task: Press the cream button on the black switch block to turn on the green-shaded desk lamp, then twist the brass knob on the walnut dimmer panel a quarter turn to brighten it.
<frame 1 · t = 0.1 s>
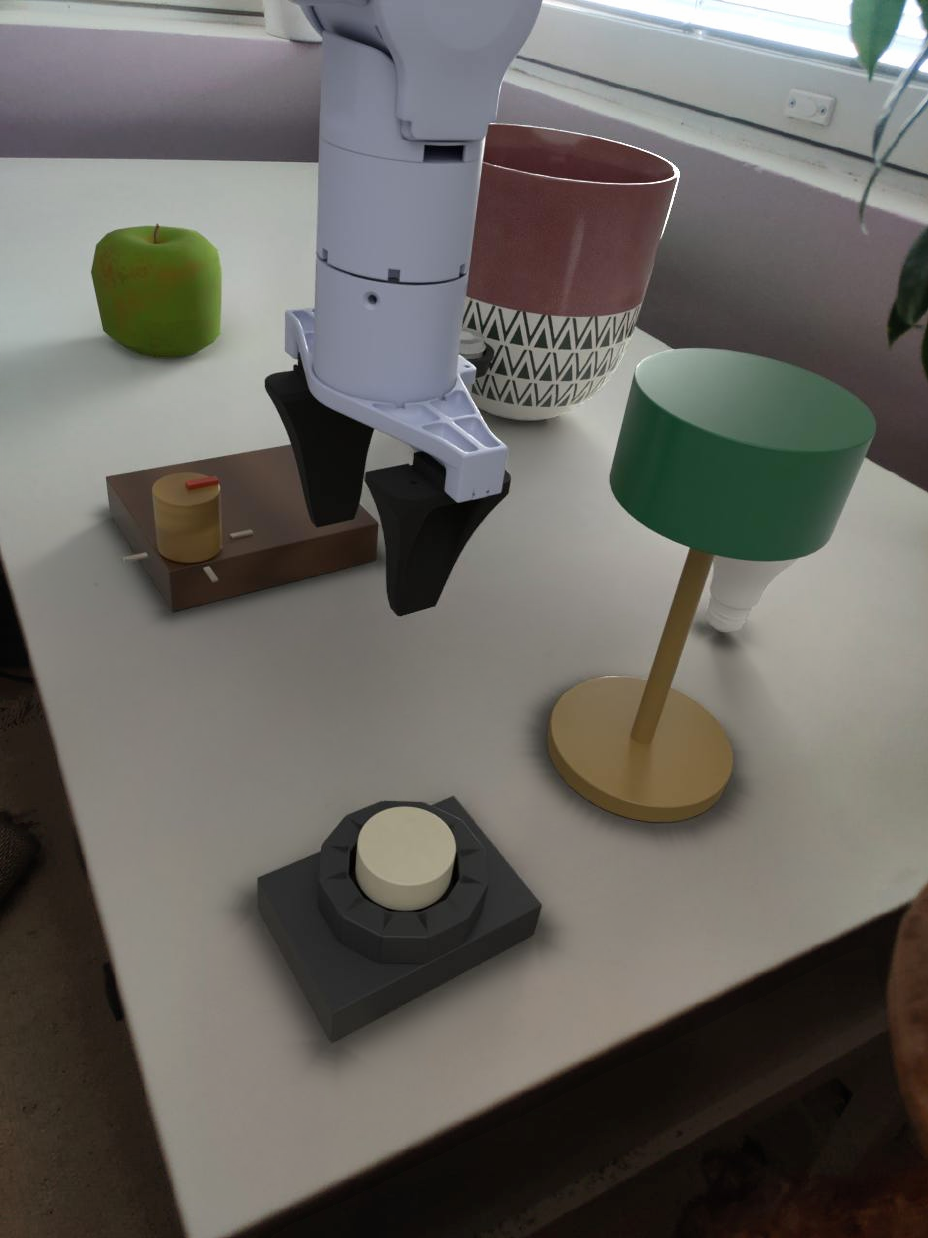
hand: (370, 561, 43), 11 cm above the table, tool pointing down, fingers open, 7 cm apart
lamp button: (405, 857, 38), point 4 cm above the table, slide at 0.1 cm
dimmer panel: (242, 537, 63), on the table
dimmer knob: (188, 515, 55), point 5 cm above the table, hinge at 0.0°
lightbulb: (720, 631, 62), on the table
planter: (513, 408, 86), on the table
push button: (442, 452, 77), on the table
apple: (164, 346, 87), on the table
desk lamp: (636, 751, 51), on the table
switch block: (396, 922, 41), on the table
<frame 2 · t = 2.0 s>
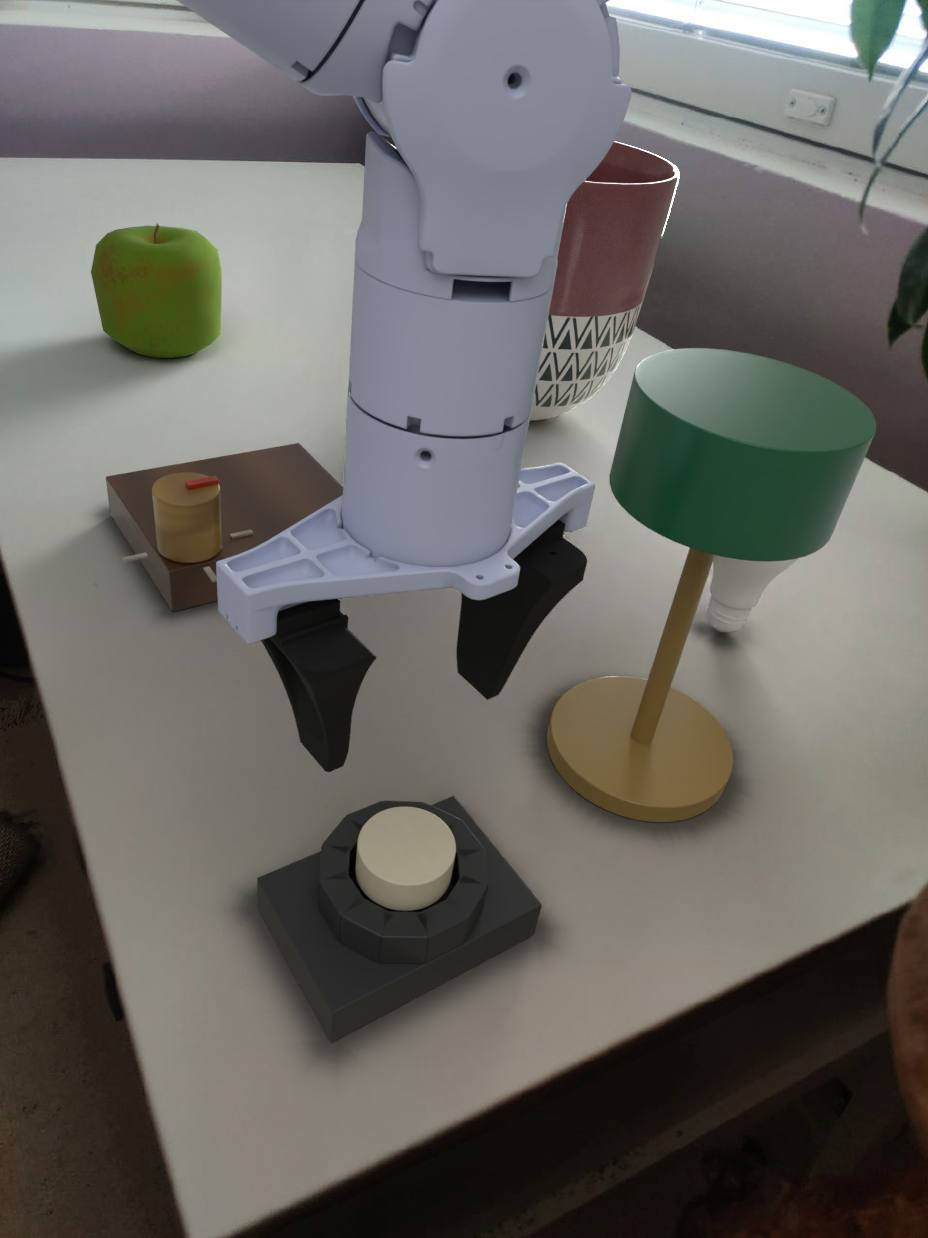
hand: (404, 716, 37), 10 cm above the table, tool pointing down, fingers open, 7 cm apart
nothing on the table moved.
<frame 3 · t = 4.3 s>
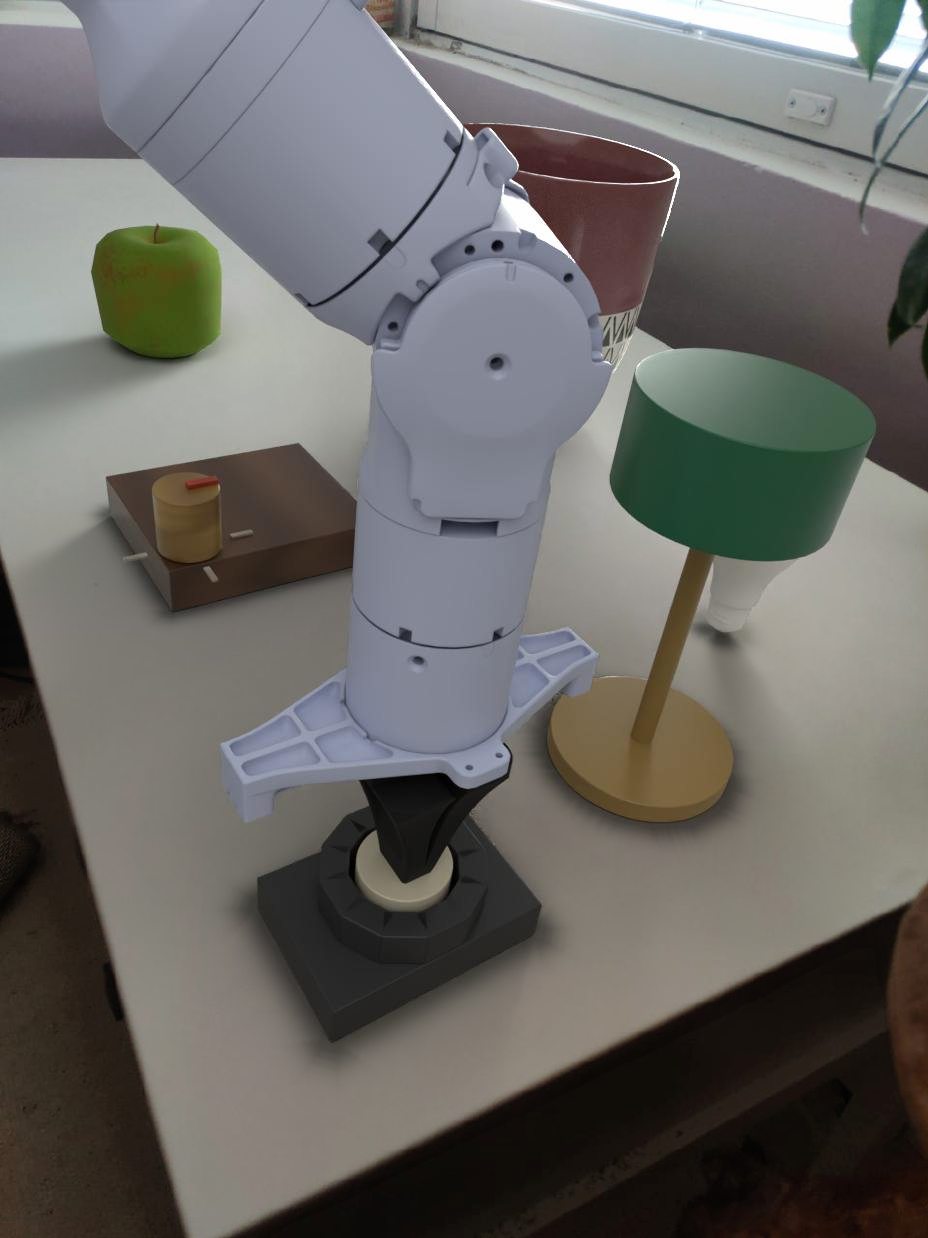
hand: (405, 860, 38), 4 cm above the table, tool pointing down, fingers closed, pressing on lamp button
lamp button: (403, 873, 39), point 3 cm above the table, slide at -1.0 cm, touching gripper
everything else where it was.
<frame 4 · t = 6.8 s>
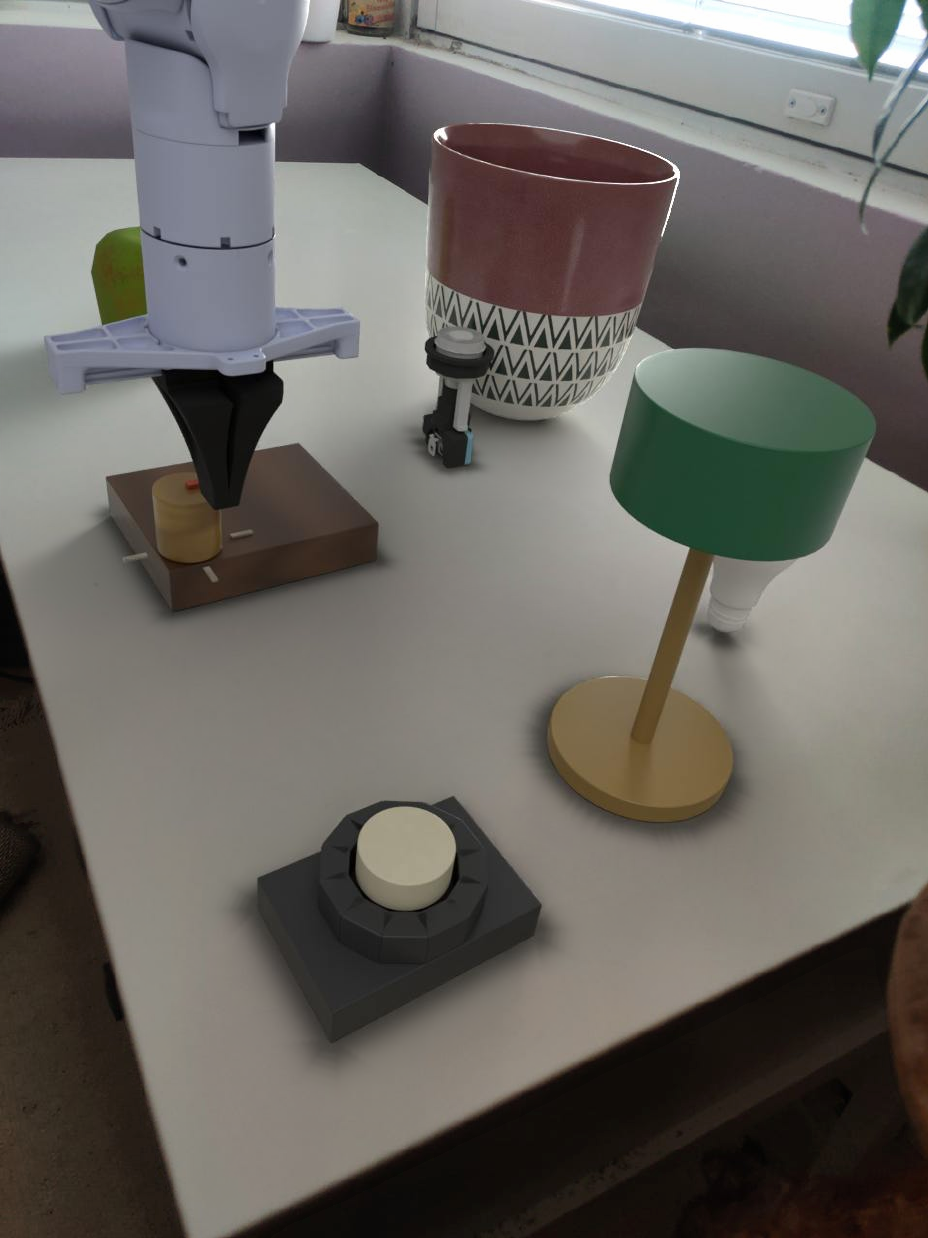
hand: (220, 499, 49), 9 cm above the table, tool pointing down, fingers closed
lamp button: (405, 857, 38), point 4 cm above the table, slide at 0.1 cm
everything else where it was.
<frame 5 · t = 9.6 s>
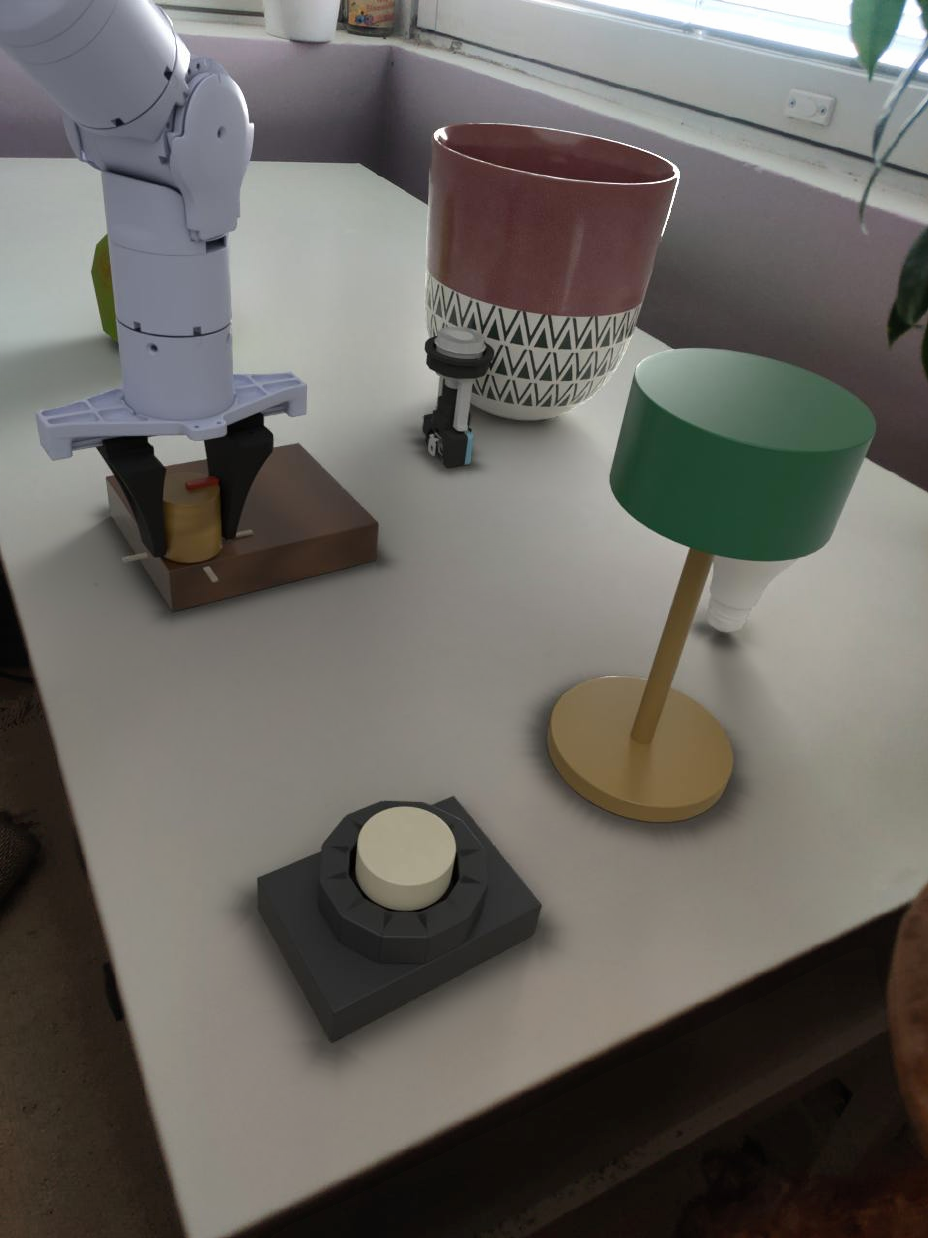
hand: (189, 539, 56), 3 cm above the table, tool pointing down, fingers closed on dimmer knob, 4 cm apart
dimmer knob: (188, 515, 55), point 5 cm above the table, hinge at 0.2°, touching gripper
everything else where it was.
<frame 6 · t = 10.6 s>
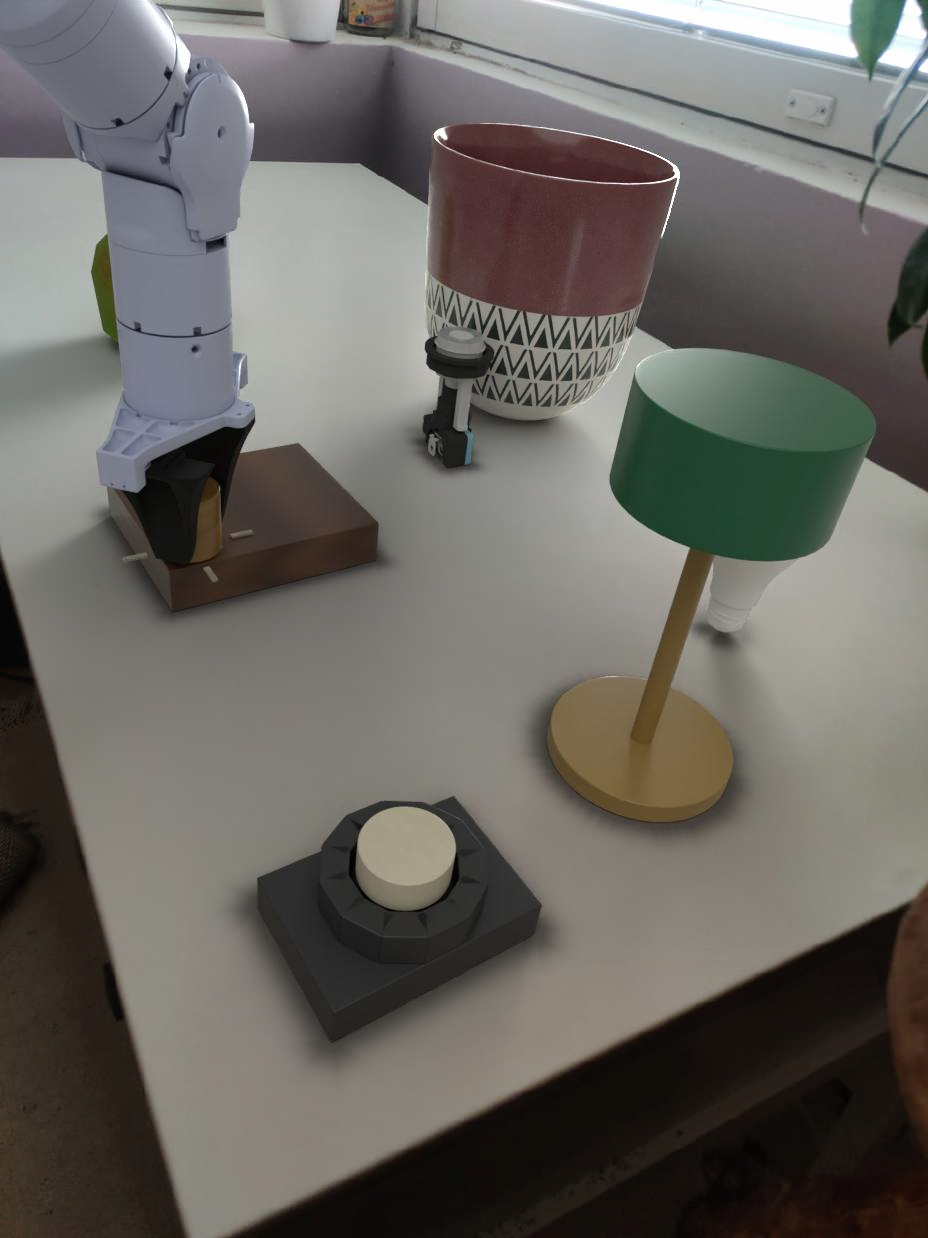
hand: (189, 539, 56), 3 cm above the table, tool pointing down, fingers closed on dimmer knob, 4 cm apart
dimmer knob: (188, 515, 55), point 5 cm above the table, hinge at 41.5°, touching gripper
everything else where it was.
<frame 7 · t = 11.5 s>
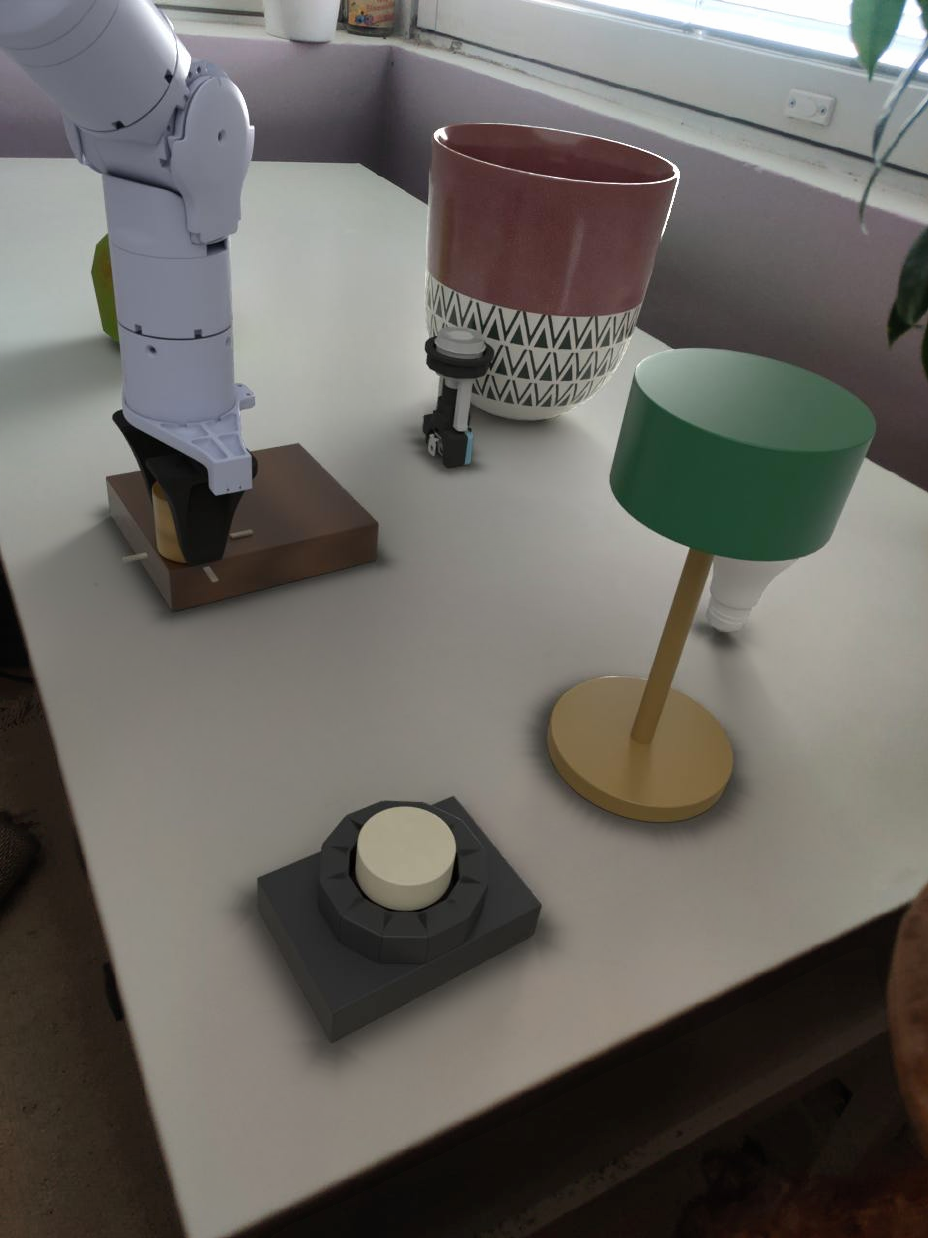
hand: (190, 541, 56), 3 cm above the table, tool pointing down, fingers closed on dimmer knob, 4 cm apart
dimmer knob: (188, 515, 55), point 5 cm above the table, hinge at 87.9°, touching gripper
everything else where it was.
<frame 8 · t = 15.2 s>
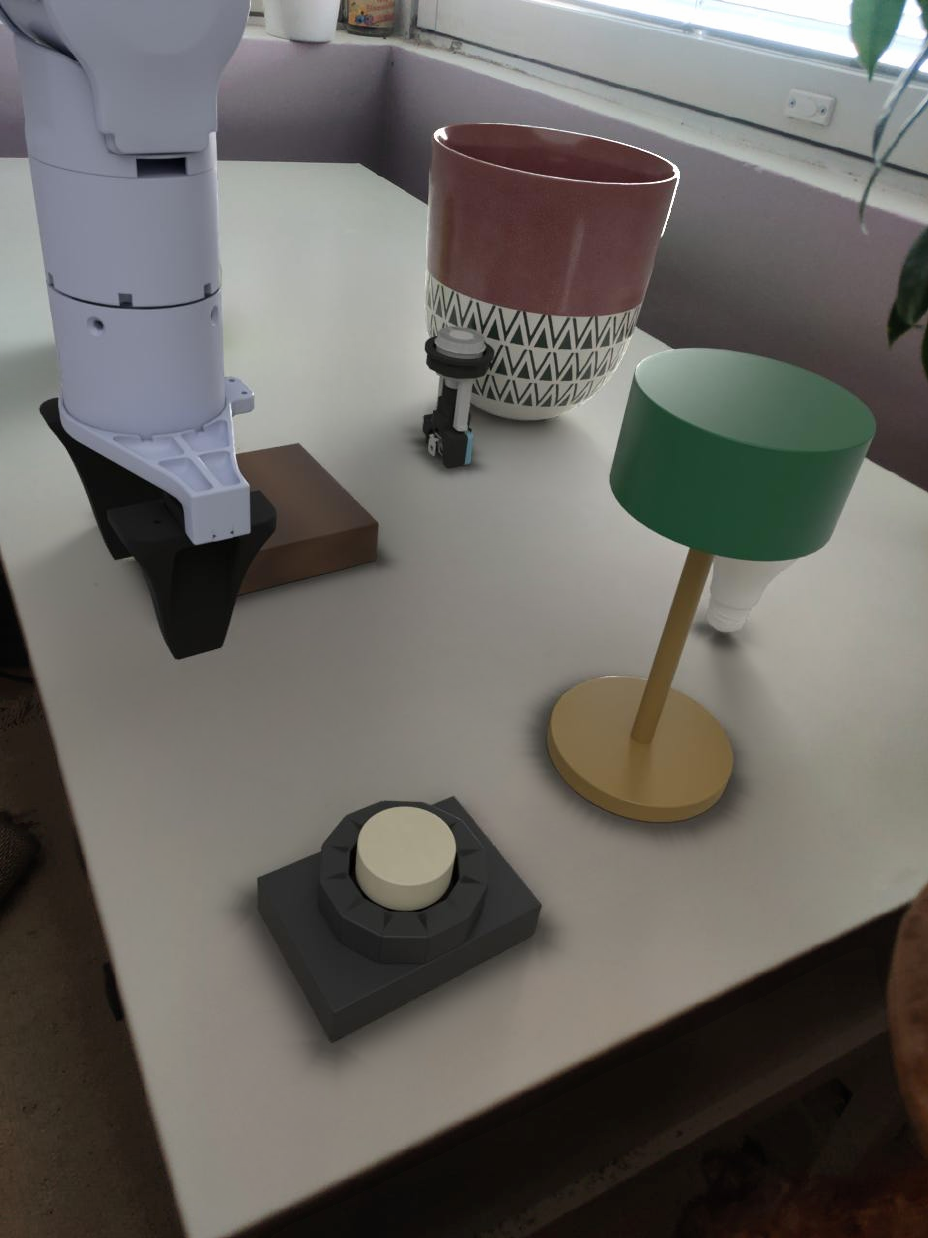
hand: (163, 597, 40), 10 cm above the table, tool pointing down, fingers open, 7 cm apart
dimmer knob: (188, 515, 55), point 5 cm above the table, hinge at 87.3°
everything else where it was.
at the end: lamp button pushed in 1.2 cm at the most during the clip, back to where it started at the end; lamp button slide at 0.1 cm; dimmer knob at +87° (first picture: +0°) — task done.
